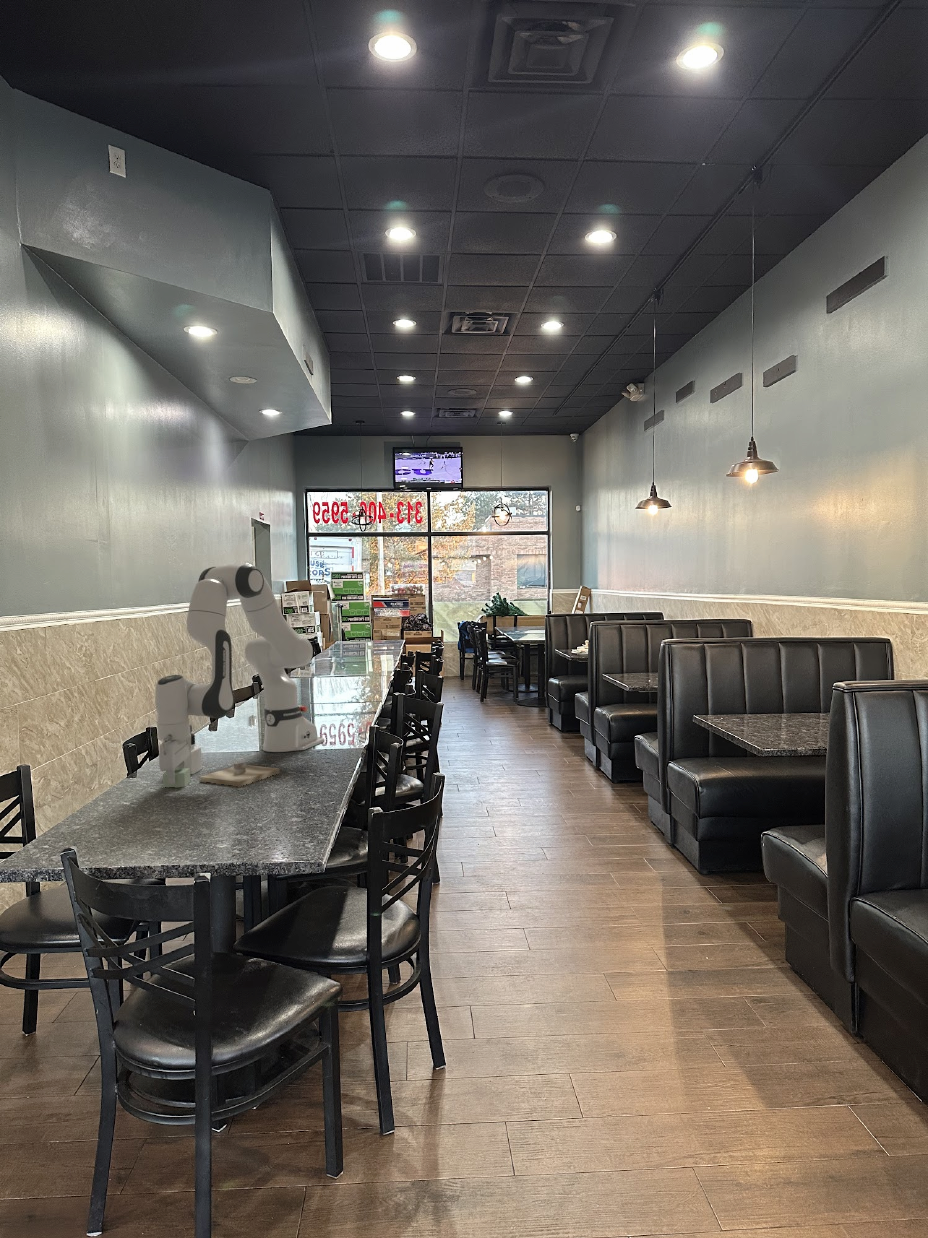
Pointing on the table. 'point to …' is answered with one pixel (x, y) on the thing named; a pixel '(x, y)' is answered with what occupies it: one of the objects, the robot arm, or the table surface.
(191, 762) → the medicine bottle
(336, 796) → the table surface
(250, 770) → the base plate
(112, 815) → the table surface
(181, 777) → the green block with hole
